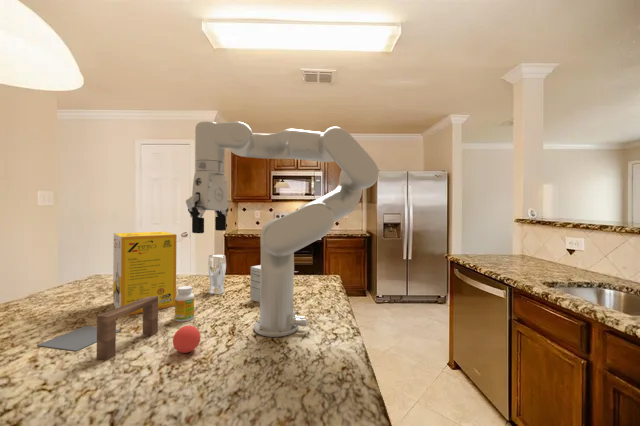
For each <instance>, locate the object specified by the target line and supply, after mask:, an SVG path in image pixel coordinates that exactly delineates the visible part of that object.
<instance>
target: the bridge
mask: <svg viewBox="0 0 640 426" xmlns="http://www.w3.org/2000/svg"><path fill="white" fill-rule="evenodd" d="M141 308H143V312H142V335H146V336H154V335H156V334H158V333H159V309H158V297H150V296H149V297H146V298H143V299H140V300H138V301H135V302H132V303H130V304H127V305H124V306H122V307H119V308H114V309H111V310H109V311H106V312H103V313H100V314H97V315H96V327H97V342H96V359H98V360H104V361H109V360H110V359H112V358H114V357H116V355H117V353H116V351H117V350H116V348H117V347H116V345H117V344H116V343H117V333H116V330H117V319H119V318H122V317H124V315H126V316H128V315H127V314H129V313H132V312H134V311H136V310H139V309H141Z"/></svg>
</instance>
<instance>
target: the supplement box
mask: <svg viewBox="0 0 640 426" xmlns="http://www.w3.org/2000/svg"><path fill="white" fill-rule="evenodd" d="M260 274H261V264H258V265H253V266H250V284H249V285H250V288H249V289H250V297H249V298H250V300H251V301H254V302H256V303H259V304H260Z"/></svg>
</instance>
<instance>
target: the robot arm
mask: <svg viewBox="0 0 640 426" xmlns="http://www.w3.org/2000/svg"><path fill="white" fill-rule="evenodd" d="M194 134H195V136H194V138H195V139H194V140H195V141H194V144H195V146H194V147H195V151H194V152H195V154H194V155H195V156H194V159H195V161H194V162H195V163H194V176H193V180H192V181H193V182H192V190H191V191H192V192H191V193H192V195H191V196H190V197H189V198H187V199H186V200H185V204H186V207H187V211H188V213H189V217H190V218H191V222H192V223H191V233H192V234H204V233H205V217H203V216H204V214H205V212H206V211H214V213H215V214H216V216H215V220H214V222H215V223H214V224H215V226H214V227H215V228H214V230H215V231H221V232H223V231H226V230H227V218H228V212H229V207H230V205H231V202H230V201H229V194H228V193H229V191H228V183H227V177H226V175H225V173H226V172H225V171H226V170H225V169H226V168H225V165H226V164H225V163H226V162H225V161H226V159H225V157H226V155H225V154H226V153H225V152H226V149H229V151H230V152H231V153H232V154H234V155H236V156H239V157H243V158H244V157H245V158H255V159H267V160H268V159H272V160H273V159H276V160H285V159H286V160H289V159H291V160H298V161H309V162H310V161H311V162H320V163H333V162H335V163H336V165H338V167H339V168H340V169H341V171H340V173H339V179H338V184H337V186H336V188H335V189H334V190H332V191H330V192H328V193H326V194H325V195H322V196H321V197H318V198H316V199H314V200H312V201H308V202H306V203H304V204H302V205H301V206H300V207H299V208H297V209H296V210H294V211H292V212H290V213H288V214H285V215H284V216H281V217H280V218H278V217H277V218H272V219H269V220H268V221H267V222H266V223H264V225H263V226H262V228H261V231H260V240H259V241H260V265H261V274H260V303H259V320H257V321H256V322H255V323H254V325H253V330H254V332H255V333H256V334H258V335H260V336H263V337H268V338H278V337H279V338H280V337H285V336H289V335H291V334H294V333H295V332H296V331H298V329H299V326H300V327H307V326H308V319H307V318H306V316H300V315H299V316H298V315H297V310H294V283H295V282H294V281H295V279H294V278H295V254H294V253H296V252H297V251H300V250H301V249H303V248H305V247H307V246H309V245H310V244H312V243H314V242H316V241H319V240H320V239H322V238H323V237H325V236H326V235H328V233H330V232H331V230H333V229H332V228H333V227H334V224H335V223H336V222H338V221H339V220H341V219H342V218H344V217H346V216H348V215H349V214H351V213H352V212H353V211H354V210H355V209H357V207H358V205H359V203H360V202H361V198H362V194H363V190H365V189H369V188H370V187H372V186H374V185H375V184H376V183H377V181H378V179H379V177H380V176H379V174H380V173H379V167H378V165H377V163H376V162H375V160H374V159H373V157H371V155H370V154H369V153H368V152H367V151H366V150H365V149H364V148H363V146H362V145H360V143H359V142H358V141H357V140H356V139H355V138H354V137H353V136H352V135H351V134H350V133H349V132H348V131H347V130H346V129H344V128H342V127H339V126H331V127H329V128H327V129H326V130H325V131H324V132H321V131H313V130H307V129H305V130H304V129H297V128H287V129H283V130H281V131H278V132H275V133H257V132H255V133H253V131H252V129H251V127H250V126H249V125H248V124H247V123H244V122H242V121H228V122H215V121H207V120H206V121H200V122H198V123H196V125H195V131H194Z"/></svg>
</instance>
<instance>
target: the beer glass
mask: <svg viewBox="0 0 640 426" xmlns="http://www.w3.org/2000/svg"><path fill="white" fill-rule="evenodd" d="M226 270H227V258H226V255H225V254H221V253H220V254H219V253H218V254H210V255H208V262H207V272H208V273H207V274H208V278H209V290H208V294H210V295H220V294H224V293H225V291H226V289H225V285H224V284H225V277H226V276H225V275H226Z"/></svg>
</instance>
